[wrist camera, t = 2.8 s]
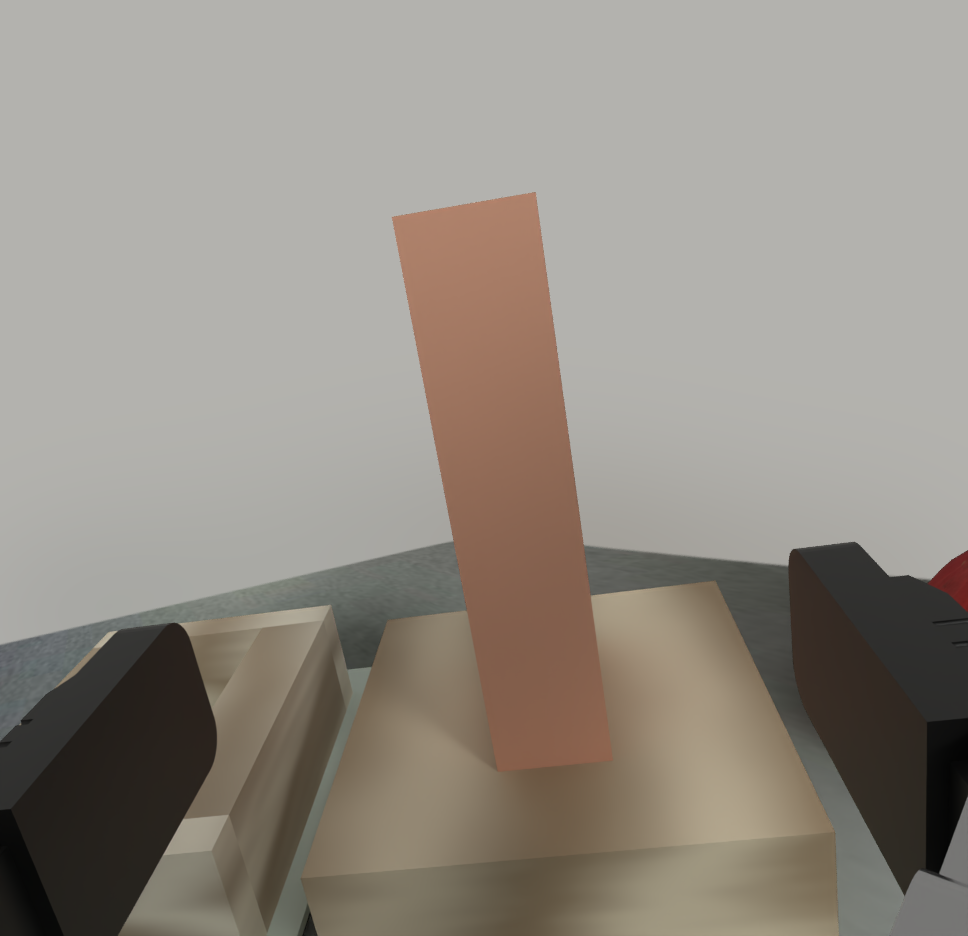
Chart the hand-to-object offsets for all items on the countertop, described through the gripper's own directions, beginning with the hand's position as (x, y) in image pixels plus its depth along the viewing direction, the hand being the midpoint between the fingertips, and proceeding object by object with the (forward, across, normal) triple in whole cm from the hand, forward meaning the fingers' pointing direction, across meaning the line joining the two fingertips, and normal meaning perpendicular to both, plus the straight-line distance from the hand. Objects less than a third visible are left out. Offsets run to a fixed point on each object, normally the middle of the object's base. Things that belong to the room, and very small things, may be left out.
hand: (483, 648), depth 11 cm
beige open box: (+12, +13, +12) cm, 22 cm away
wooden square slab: (+11, 0, +12) cm, 17 cm away
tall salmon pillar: (+11, 0, +8) cm, 14 cm away
